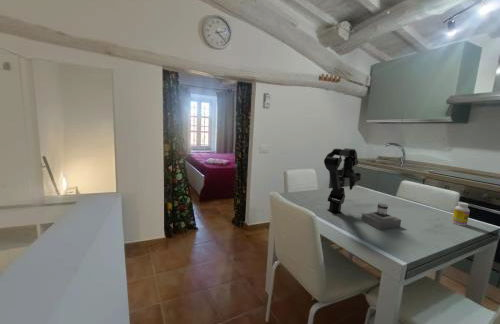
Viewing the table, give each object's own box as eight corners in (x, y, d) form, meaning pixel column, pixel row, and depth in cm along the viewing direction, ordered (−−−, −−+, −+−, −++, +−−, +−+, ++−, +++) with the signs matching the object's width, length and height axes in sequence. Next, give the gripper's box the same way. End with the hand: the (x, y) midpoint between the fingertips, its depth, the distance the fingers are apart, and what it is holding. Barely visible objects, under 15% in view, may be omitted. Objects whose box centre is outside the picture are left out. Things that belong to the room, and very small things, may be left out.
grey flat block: (379, 229, 123) (380, 219, 122) (361, 220, 134) (362, 211, 133) (400, 226, 129) (401, 217, 128) (381, 218, 140) (382, 209, 139)
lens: (381, 219, 128) (383, 207, 127) (374, 215, 132) (375, 204, 131) (388, 218, 129) (390, 206, 128) (380, 214, 134) (382, 203, 133)
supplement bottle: (463, 226, 133) (468, 205, 131) (449, 222, 139) (453, 202, 137) (468, 225, 136) (473, 204, 134) (454, 220, 142) (458, 200, 140)
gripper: (345, 170, 142) (342, 194, 144) (368, 169, 148) (365, 192, 150) (333, 166, 152) (330, 189, 154) (355, 166, 158) (352, 188, 161)
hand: (345, 190), depth 155 cm, fingers open, 9 cm apart
